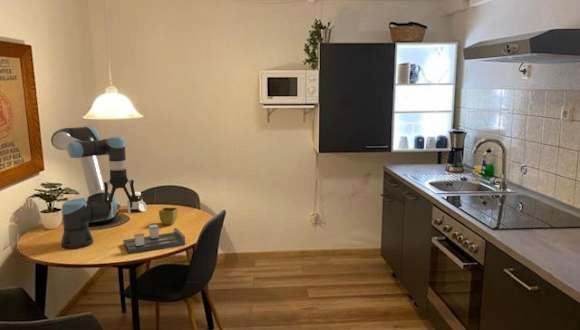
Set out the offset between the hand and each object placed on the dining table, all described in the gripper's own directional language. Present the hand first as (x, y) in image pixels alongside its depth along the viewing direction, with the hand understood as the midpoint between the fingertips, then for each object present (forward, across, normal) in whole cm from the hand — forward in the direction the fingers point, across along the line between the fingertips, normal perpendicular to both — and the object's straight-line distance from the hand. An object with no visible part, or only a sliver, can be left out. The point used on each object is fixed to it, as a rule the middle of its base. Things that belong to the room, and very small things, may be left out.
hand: (120, 215), depth 227 cm
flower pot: (+19, +32, +37) cm, 53 cm away
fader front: (+16, +8, 0) cm, 18 cm away
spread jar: (+19, +22, +77) cm, 82 cm away
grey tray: (+19, +16, +4) cm, 25 cm away
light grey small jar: (+16, +17, +8) cm, 25 cm away
